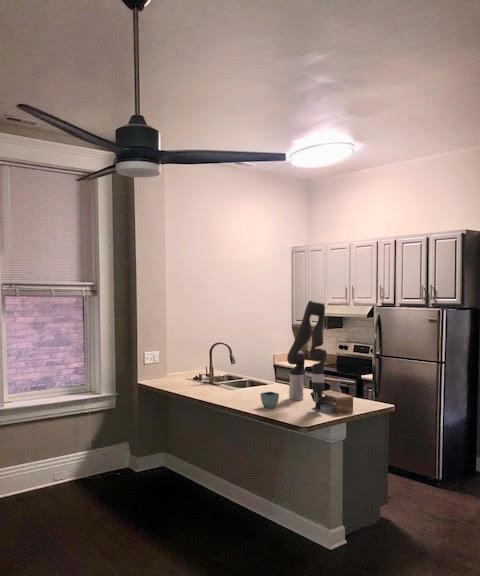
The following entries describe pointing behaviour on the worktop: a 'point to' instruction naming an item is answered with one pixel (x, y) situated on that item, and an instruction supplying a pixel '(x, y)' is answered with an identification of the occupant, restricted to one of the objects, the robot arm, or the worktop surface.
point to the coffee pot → (334, 387)
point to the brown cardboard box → (339, 401)
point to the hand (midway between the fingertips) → (317, 409)
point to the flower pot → (269, 399)
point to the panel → (327, 408)
